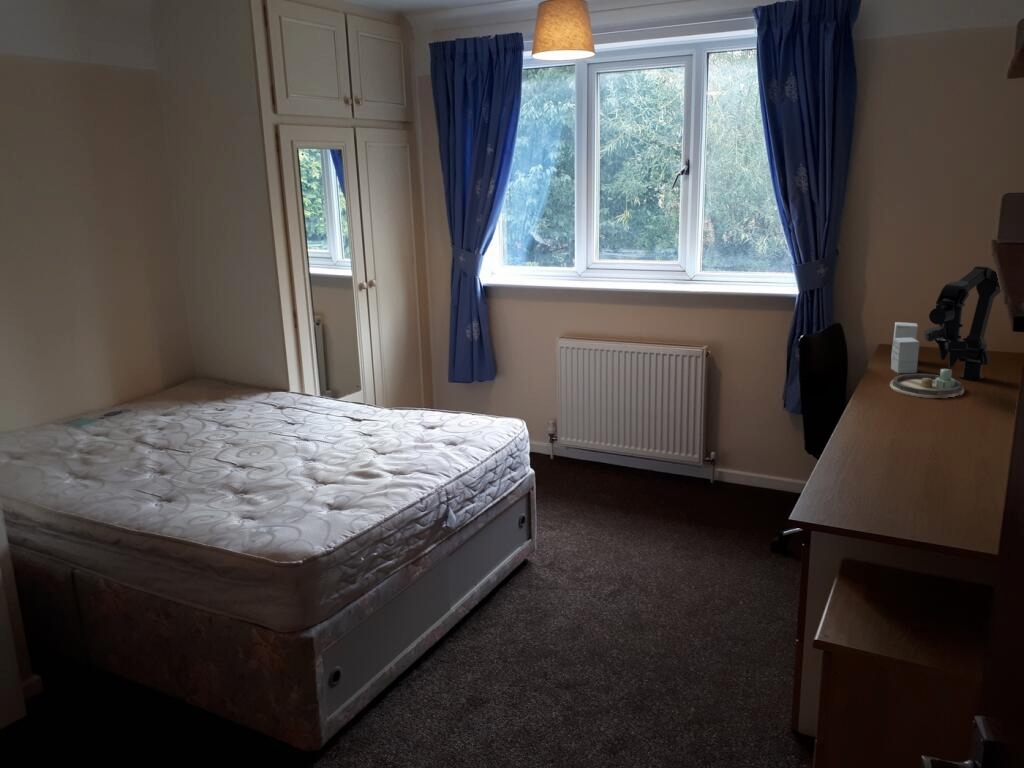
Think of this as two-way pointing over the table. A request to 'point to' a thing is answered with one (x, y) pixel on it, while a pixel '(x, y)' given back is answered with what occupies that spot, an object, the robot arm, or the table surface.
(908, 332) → the skincare box
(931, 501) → the table surface
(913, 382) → the carrier plate
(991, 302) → the robot arm
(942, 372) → the pale green domed piece
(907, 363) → the supplement box
